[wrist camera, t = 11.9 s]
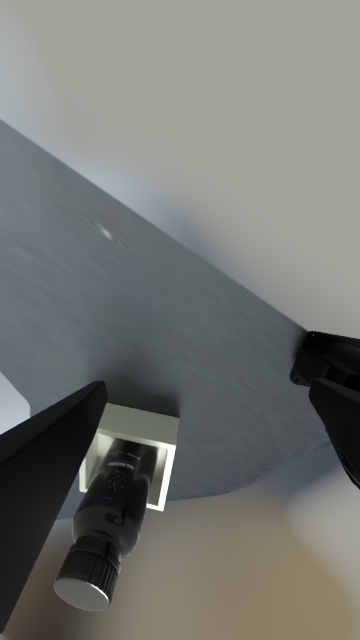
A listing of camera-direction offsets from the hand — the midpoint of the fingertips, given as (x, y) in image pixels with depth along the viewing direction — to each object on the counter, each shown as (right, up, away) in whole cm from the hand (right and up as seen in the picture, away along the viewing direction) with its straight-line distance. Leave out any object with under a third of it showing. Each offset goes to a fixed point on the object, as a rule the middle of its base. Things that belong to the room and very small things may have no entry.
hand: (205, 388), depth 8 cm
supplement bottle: (-8, -15, +18) cm, 25 cm away
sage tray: (-8, -15, +19) cm, 25 cm away
